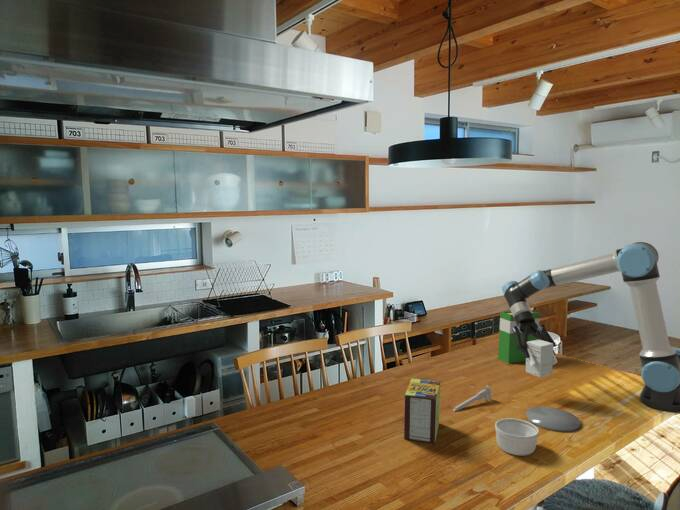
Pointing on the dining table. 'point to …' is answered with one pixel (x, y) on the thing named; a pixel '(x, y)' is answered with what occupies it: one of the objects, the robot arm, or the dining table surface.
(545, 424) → the disc
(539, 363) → the supplement box
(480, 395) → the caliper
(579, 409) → the dining table surface
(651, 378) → the robot arm
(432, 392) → the protein box
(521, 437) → the ramekin
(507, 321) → the green white box
